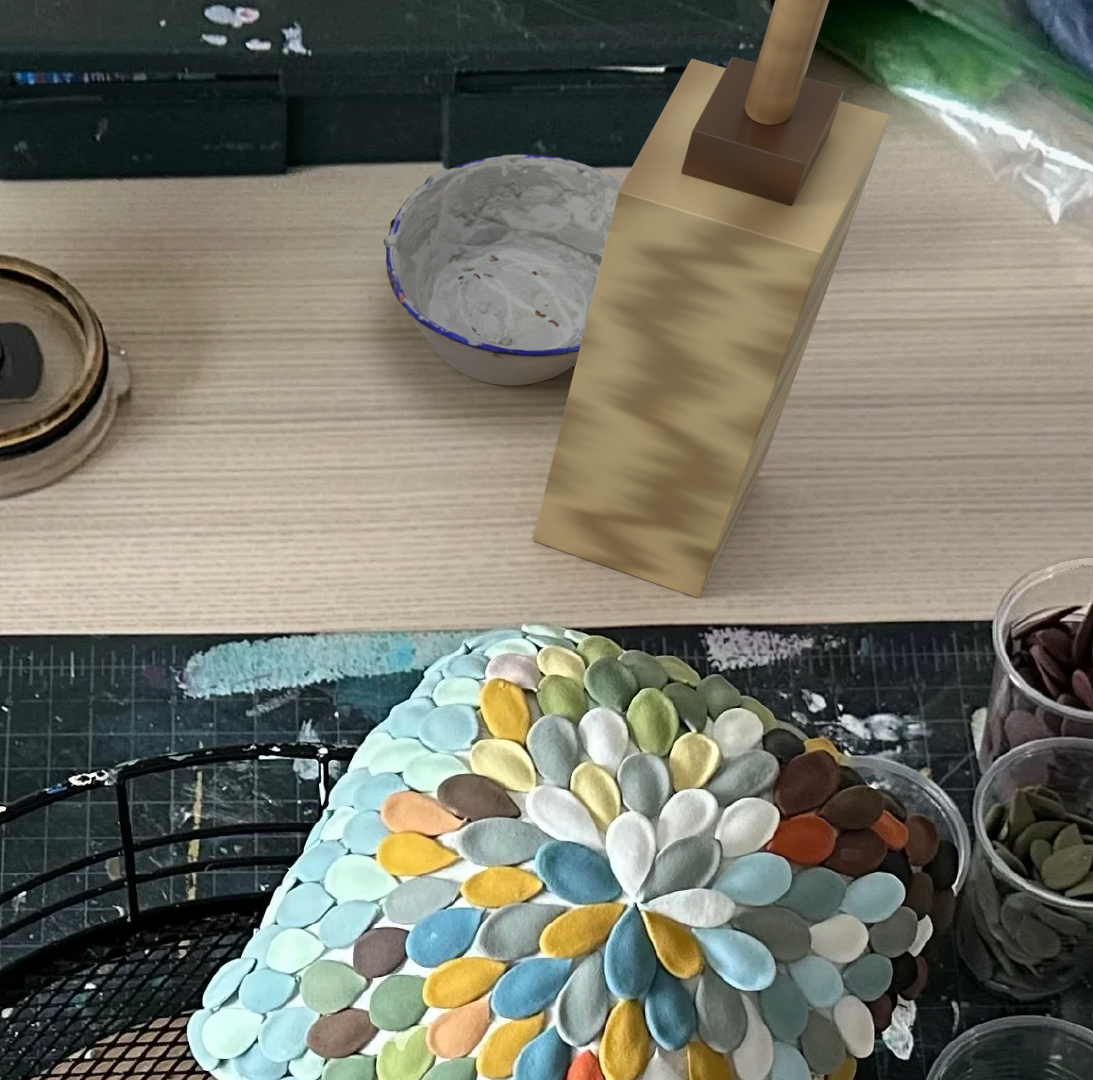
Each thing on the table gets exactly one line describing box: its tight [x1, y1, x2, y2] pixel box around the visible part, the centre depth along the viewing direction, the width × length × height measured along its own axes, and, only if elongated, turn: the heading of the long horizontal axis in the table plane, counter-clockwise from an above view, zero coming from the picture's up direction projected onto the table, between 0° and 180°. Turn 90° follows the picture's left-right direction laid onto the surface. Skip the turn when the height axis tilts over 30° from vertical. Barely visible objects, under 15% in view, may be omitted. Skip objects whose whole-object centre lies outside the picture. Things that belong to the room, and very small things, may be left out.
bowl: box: [383, 153, 623, 386], centre depth 109 cm, size 13×13×5 cm
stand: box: [532, 58, 891, 599], centre depth 97 cm, size 8×8×20 cm
